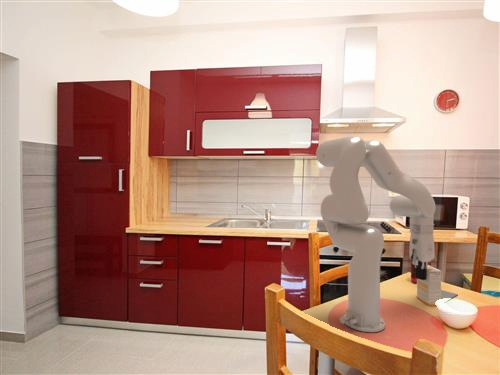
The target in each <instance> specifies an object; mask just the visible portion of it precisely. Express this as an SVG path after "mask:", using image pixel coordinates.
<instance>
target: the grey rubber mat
mask: <svg viewBox="0 0 500 375" xmlns="http://www.w3.org/2000/svg"><path fill="white" fill-rule="evenodd" d="M458 296H459V294H458V293H455V292H452V291H448V290H443V289H441V299H443V298H452V299H454V298H456V297H458Z"/></svg>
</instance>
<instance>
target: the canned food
mask: <svg viewBox="0 0 500 375" xmlns="http://www.w3.org/2000/svg"><path fill="white" fill-rule="evenodd" d="M412 262H413V260H411V259H410V281H411V282H413V283H412V284H414V283H415V285H417V278H416V268H415V265H413V264H412ZM428 265H429V266H432V260H430V261H428Z"/></svg>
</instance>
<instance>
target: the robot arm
mask: <svg viewBox="0 0 500 375" xmlns="http://www.w3.org/2000/svg"><path fill="white" fill-rule="evenodd" d="M315 156H316V159H317V161H318V163H319V164H321V165H322V166H324V167H328V168H333V169H332V171H331V175H330V177H329V188H330V192H331V194H328V195H326V196H325V197H324V198H323V199H322V202H321V205H320V215H321V216H320V217H321V218H322V221H323V223H324V227H325V228H326V231H327V234H328V236H329V238H330V240H331V243H332V244H333V245H334V246H335V247H336V248H338V249H341V250H343V251H348V252H351V253H352V254H353V255H352V258H351V259H350V261H349V264H348V267H347V269H348V270H347V273H348V274H347V282H348V283H347V288H348V290H347V309H346V313H344V314H343V316H340V317H339V322H340V323H341V324H345V325H346V326H347V327H349V328H351V329H353V330H355V331H359V332H364V333H377V332H381V331H383V330H384V329H385V327H386V322H385V321H384V319H383V318H382V317H381V315H380V314H381V313H380V312H381V311H380V308H381V303H380V302H381V261H382V255H383V250H384V244H385V238H384V235H383V233H382V231H381V230H380V229H379V228H377V227H375V226H373V225H369V224H365V223H366V222H367V221H368V220H369V213H370V212H369V208H368V205H367V202H366V198H365V196H364V194H363V191H362V187H361V185H360V181H359V172H360V169H361V168H362V167H363V168H365V170H366V171H367V172H368V174H369V176H371V178H372V180H373V181H374V182H375V183H376V185H377V186H378V187H380V188H382V189H383V190H386V191H389V192H392V193H395V194H398V195H395V197H393V198H392V199H391V200H390V202H389V209H390V211H391V212H392V213H393V214H394V215H395V216H400V217H408V218H409V233H410V237H409V250H408V251H409V259H410V261H411V260H413V262H412V264H413V265H415V268H416V278H417V279H421V280H426V279H427V269H426V268H427V265H428V261H430V260H431V261H432V260H434V259H435V257H436V254H435V253H436V252H435V239H434V238H435V237H434V215H435V213H436V209H437V208H436V203H435V199H434V198H433V196H432V194H431V192H430V190H429V189H428V187H426V185H424V184H423V183H422V182H420V181H419V180H417V178H416V179H415V178H414V177H413V176H410V175H409V174H407V173H405V172H403V171H402V170H401V169H400V167H399V166H398V165H397V163H396V162H395V160H394V158H393V156H392V155H391V154H390V153H389V151H388V150H387V148H386V147H385V145H384V144H383V143H382V142H381V141H379V140H375V139H374V140H373V139H372V140H371V139H370V140H364V139H363V138H361V137H360V136H345V137H340V138H336V139H329V140H325V141H323V142H321V143H320V144H319V145H318V146H317V148H316V151H315Z"/></svg>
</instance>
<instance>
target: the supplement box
mask: <svg viewBox="0 0 500 375" xmlns="http://www.w3.org/2000/svg"><path fill="white" fill-rule="evenodd" d="M426 269H427V279H426V280H421V279H417V284H416V298H417V299H418V300H420V301H421V302H423V303H424V304H426V305H427V306H433V307H436V306H435V302H436V301H437V300H439V299H441V290H442V270H440V269H438V268H436V267H433V266H432V265H431V266H429V265H427V268H426Z"/></svg>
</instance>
